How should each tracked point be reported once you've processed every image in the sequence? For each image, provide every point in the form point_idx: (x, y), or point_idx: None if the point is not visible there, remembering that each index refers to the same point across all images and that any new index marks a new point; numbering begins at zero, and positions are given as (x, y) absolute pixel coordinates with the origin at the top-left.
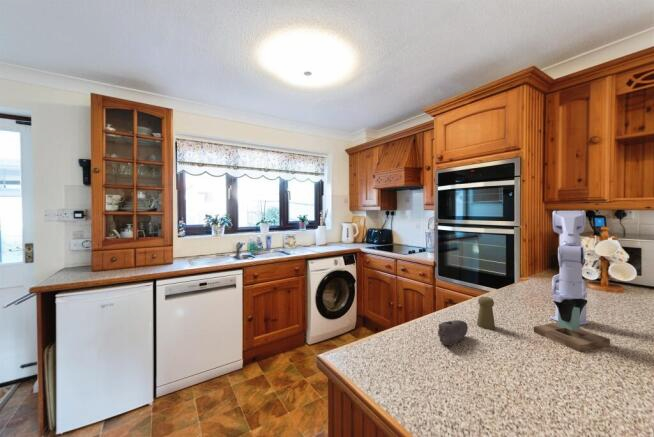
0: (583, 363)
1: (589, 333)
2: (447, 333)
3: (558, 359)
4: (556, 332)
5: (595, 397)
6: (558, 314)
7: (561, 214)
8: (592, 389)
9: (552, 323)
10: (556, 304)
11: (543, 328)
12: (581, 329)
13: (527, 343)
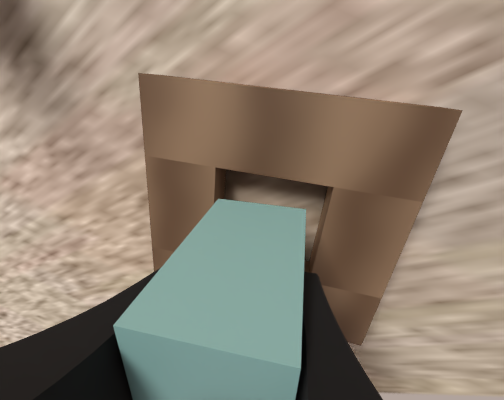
0: (106, 299)
1: (354, 284)
2: None
3: (54, 257)
4: (191, 193)
5: (12, 337)
6: (178, 247)
7: None
8: (27, 330)
9: (338, 98)
10: (4, 357)
11: (172, 125)
12: (392, 245)
13: (30, 147)
